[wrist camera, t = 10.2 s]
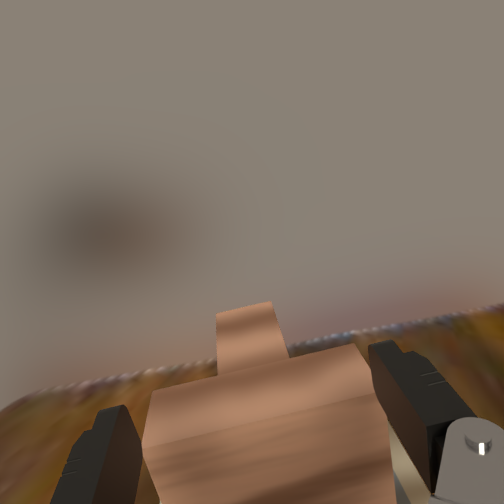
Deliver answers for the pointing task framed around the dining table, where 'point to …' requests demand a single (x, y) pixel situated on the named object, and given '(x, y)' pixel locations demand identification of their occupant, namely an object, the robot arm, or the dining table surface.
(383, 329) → the dining table surface
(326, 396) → the T block
